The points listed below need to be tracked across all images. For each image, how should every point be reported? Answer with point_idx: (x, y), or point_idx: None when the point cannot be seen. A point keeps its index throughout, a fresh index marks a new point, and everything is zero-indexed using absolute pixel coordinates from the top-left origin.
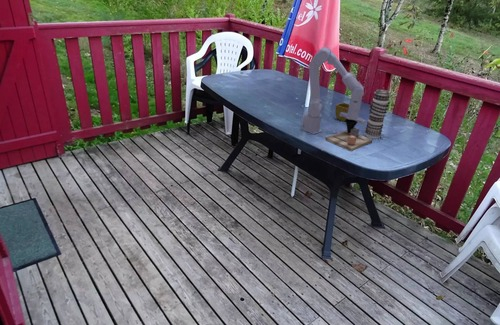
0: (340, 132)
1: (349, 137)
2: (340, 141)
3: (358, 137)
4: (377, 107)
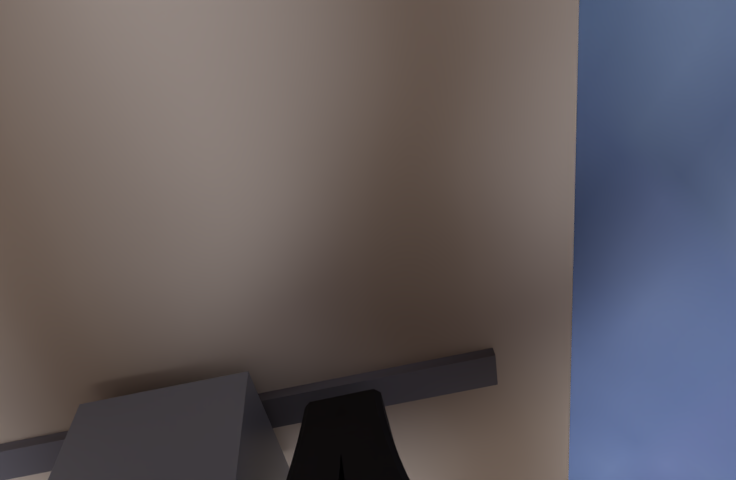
0: (564, 270)
1: None
2: None
3: (54, 459)
4: None
